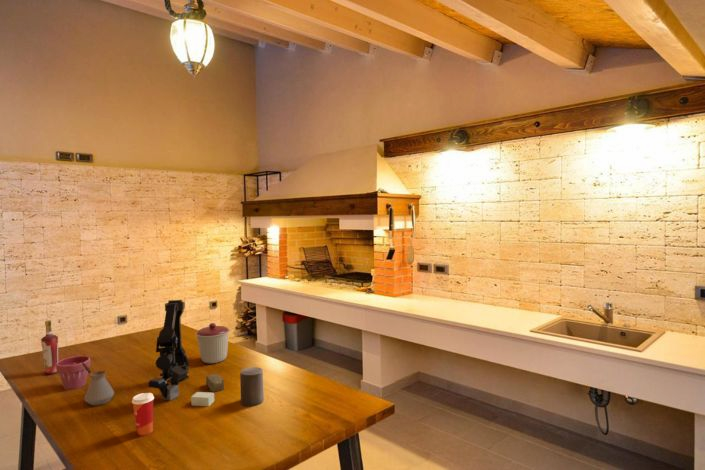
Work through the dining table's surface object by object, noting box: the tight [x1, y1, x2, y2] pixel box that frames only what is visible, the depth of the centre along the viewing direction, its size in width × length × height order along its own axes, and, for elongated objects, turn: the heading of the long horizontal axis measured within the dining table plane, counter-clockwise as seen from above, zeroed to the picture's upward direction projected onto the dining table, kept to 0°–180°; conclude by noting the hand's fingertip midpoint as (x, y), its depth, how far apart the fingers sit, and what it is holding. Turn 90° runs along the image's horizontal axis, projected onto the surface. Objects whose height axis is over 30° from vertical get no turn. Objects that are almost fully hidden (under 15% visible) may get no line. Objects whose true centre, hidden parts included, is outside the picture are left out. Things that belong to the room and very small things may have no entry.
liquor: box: [40, 319, 59, 375], centre depth 233 cm, size 7×7×28 cm
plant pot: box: [56, 355, 92, 391], centre depth 214 cm, size 14×14×13 cm
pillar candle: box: [239, 366, 265, 407], centre depth 191 cm, size 10×10×15 cm
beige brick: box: [190, 391, 215, 407], centre depth 191 cm, size 8×5×4 cm, turn 80°
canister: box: [195, 322, 231, 364], centre depth 244 cm, size 18×18×21 cm
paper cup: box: [131, 392, 155, 437], centre depth 168 cm, size 8×8×14 cm
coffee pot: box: [80, 363, 115, 406], centre depth 199 cm, size 21×12×15 cm, turn 53°
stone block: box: [205, 373, 225, 393], centre depth 208 cm, size 6×12×5 cm, turn 33°
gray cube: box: [160, 383, 180, 401], centre depth 198 cm, size 5×5×5 cm
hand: (170, 395), depth 198 cm, fingers closed on gray cube, 5 cm apart
